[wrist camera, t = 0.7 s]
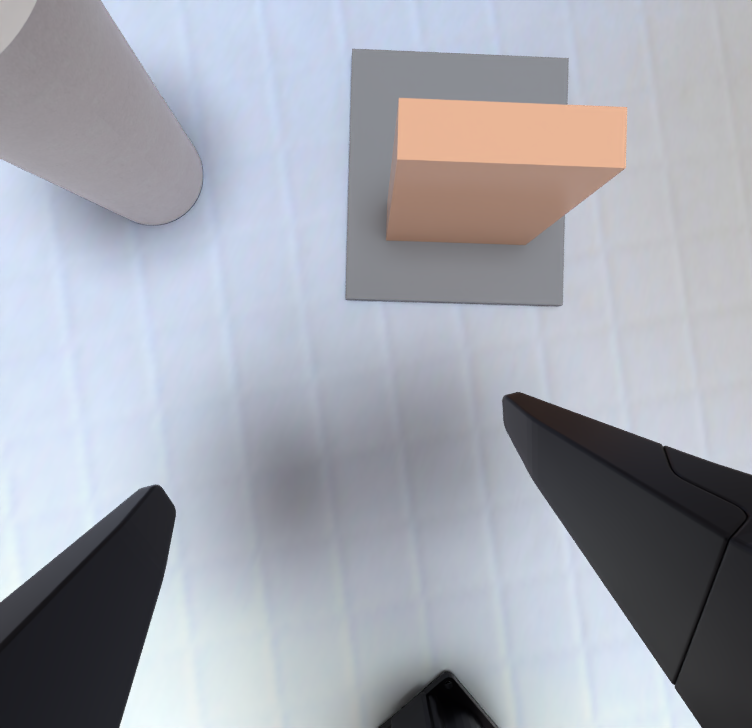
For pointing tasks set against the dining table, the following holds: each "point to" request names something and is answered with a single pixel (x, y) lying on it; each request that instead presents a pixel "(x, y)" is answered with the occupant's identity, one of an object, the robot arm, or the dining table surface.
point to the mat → (372, 175)
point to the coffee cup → (90, 112)
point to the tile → (496, 167)
